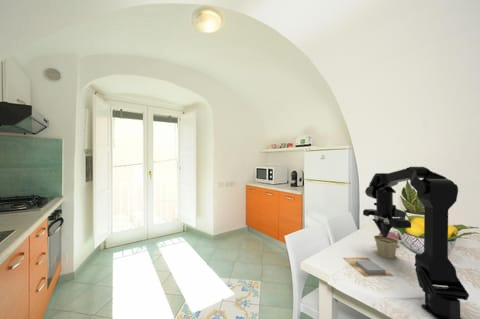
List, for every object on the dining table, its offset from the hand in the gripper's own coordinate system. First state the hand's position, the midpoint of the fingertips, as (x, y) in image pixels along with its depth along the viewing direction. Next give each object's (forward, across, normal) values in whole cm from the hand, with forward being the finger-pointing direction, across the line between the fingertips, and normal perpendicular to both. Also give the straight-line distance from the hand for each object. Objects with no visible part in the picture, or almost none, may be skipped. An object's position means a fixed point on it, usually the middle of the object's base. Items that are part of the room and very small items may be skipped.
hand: (384, 237), depth 80 cm
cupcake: (+13, +20, -20) cm, 31 cm away
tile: (+10, -1, +10) cm, 15 cm away
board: (+12, -2, +10) cm, 16 cm away
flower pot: (+13, +7, -7) cm, 16 cm away
